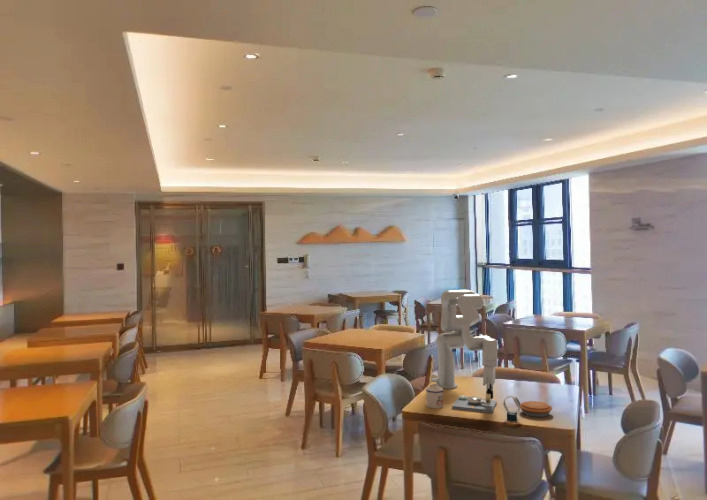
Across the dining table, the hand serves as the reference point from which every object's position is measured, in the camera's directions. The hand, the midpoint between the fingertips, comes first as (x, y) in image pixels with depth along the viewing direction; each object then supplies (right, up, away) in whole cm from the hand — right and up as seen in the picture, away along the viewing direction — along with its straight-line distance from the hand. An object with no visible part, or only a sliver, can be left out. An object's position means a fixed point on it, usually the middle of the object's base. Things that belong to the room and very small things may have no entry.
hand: (489, 398), depth 270 cm
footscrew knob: (-5, -3, 0) cm, 6 cm away
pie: (+20, -5, -10) cm, 23 cm away
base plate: (-7, -5, +2) cm, 9 cm away
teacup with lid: (-27, -5, +4) cm, 28 cm away
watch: (+6, -5, -19) cm, 20 cm away
